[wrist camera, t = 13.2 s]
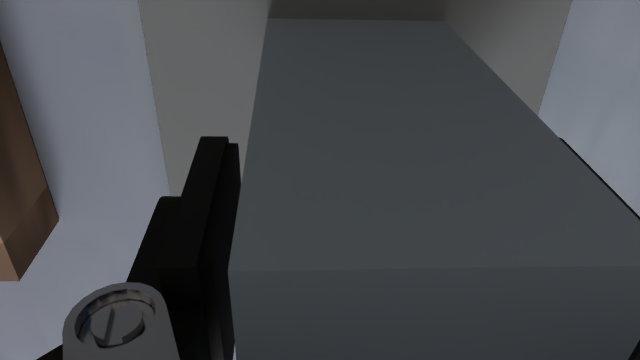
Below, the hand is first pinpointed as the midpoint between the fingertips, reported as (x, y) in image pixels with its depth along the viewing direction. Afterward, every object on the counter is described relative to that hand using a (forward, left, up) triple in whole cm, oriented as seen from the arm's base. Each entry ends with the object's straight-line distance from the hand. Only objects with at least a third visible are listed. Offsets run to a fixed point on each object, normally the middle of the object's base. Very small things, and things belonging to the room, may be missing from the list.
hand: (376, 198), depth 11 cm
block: (0, 0, -5) cm, 5 cm away
